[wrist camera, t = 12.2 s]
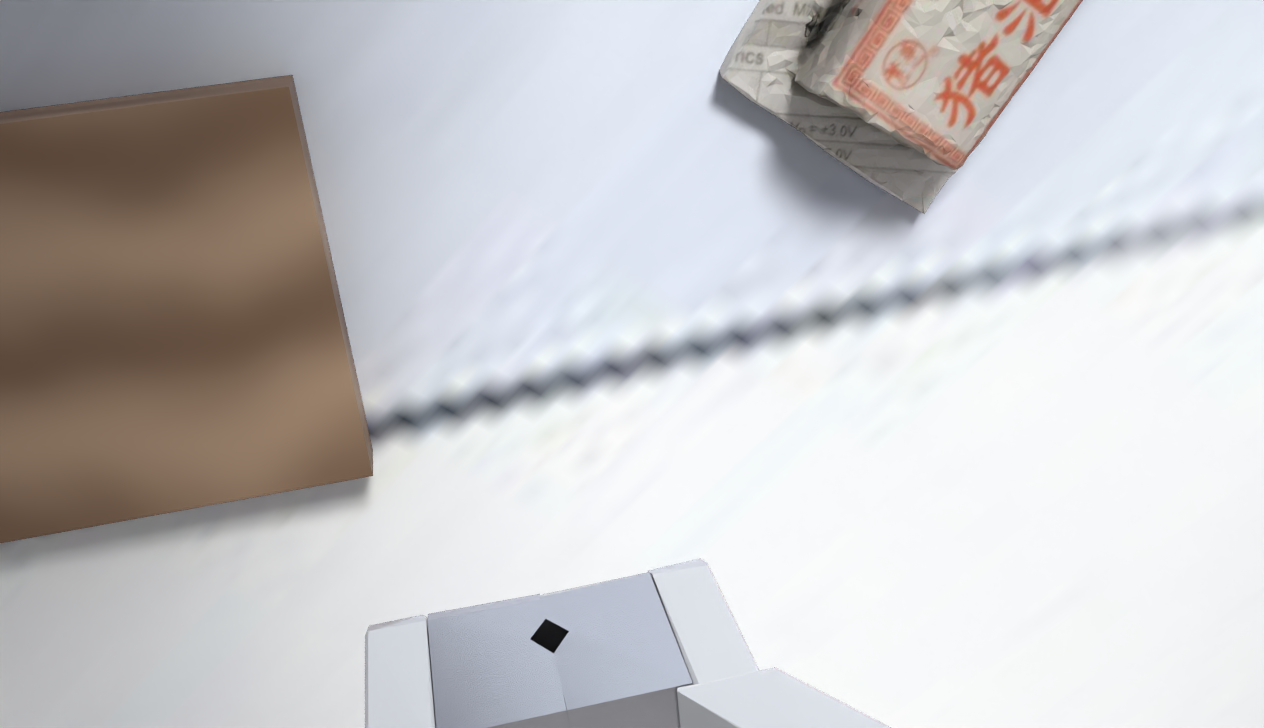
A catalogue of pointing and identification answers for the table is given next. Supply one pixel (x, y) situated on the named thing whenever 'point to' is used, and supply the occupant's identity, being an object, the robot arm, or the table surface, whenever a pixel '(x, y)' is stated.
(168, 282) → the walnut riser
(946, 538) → the table surface
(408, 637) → the robot arm
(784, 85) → the packaged product
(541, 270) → the table surface
